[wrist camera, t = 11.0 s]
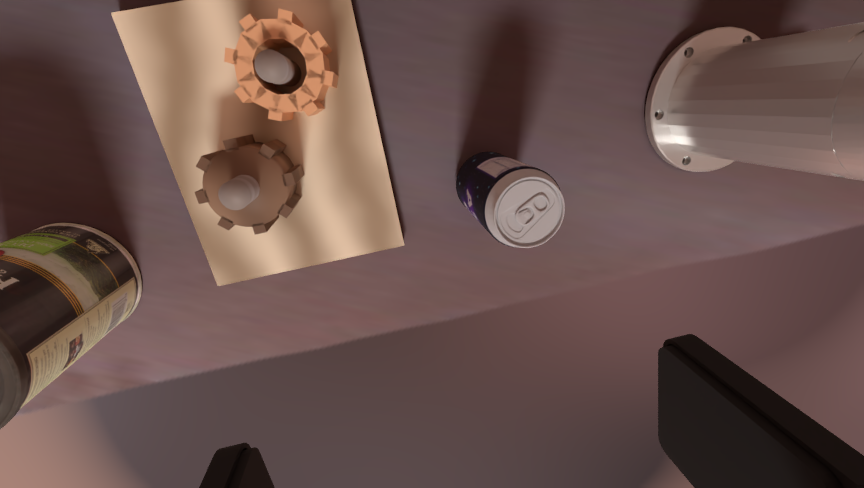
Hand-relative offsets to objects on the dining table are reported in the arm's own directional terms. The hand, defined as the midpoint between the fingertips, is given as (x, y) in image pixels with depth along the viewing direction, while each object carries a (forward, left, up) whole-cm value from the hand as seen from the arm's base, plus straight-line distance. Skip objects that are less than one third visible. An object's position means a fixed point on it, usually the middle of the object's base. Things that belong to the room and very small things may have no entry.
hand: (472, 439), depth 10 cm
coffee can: (+29, +2, -31) cm, 42 cm away
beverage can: (-8, +1, -31) cm, 32 cm away
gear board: (+9, -6, -30) cm, 32 cm away
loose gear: (+6, -11, -29) cm, 32 cm away
